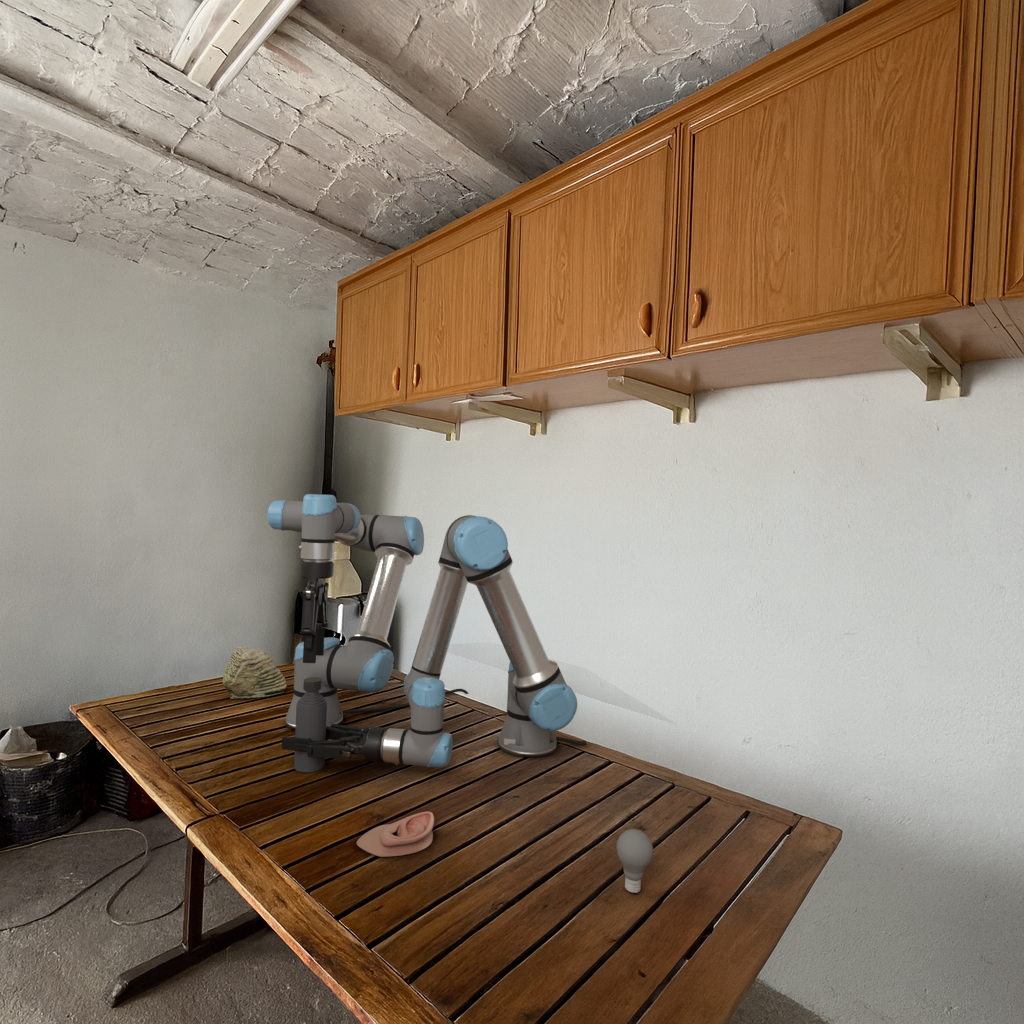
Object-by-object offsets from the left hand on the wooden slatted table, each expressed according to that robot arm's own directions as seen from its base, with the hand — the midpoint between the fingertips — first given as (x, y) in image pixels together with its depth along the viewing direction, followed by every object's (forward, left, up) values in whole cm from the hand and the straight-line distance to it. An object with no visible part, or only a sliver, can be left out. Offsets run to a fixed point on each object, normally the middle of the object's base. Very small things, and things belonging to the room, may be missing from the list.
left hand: (313, 658), depth 148 cm
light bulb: (-9, +80, -25) cm, 84 cm away
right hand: (+3, -4, -19) cm, 19 cm away
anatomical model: (+8, +39, -25) cm, 48 cm away
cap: (0, 0, -5) cm, 5 cm away
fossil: (-18, -57, -25) cm, 65 cm away
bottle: (0, 0, -25) cm, 25 cm away
